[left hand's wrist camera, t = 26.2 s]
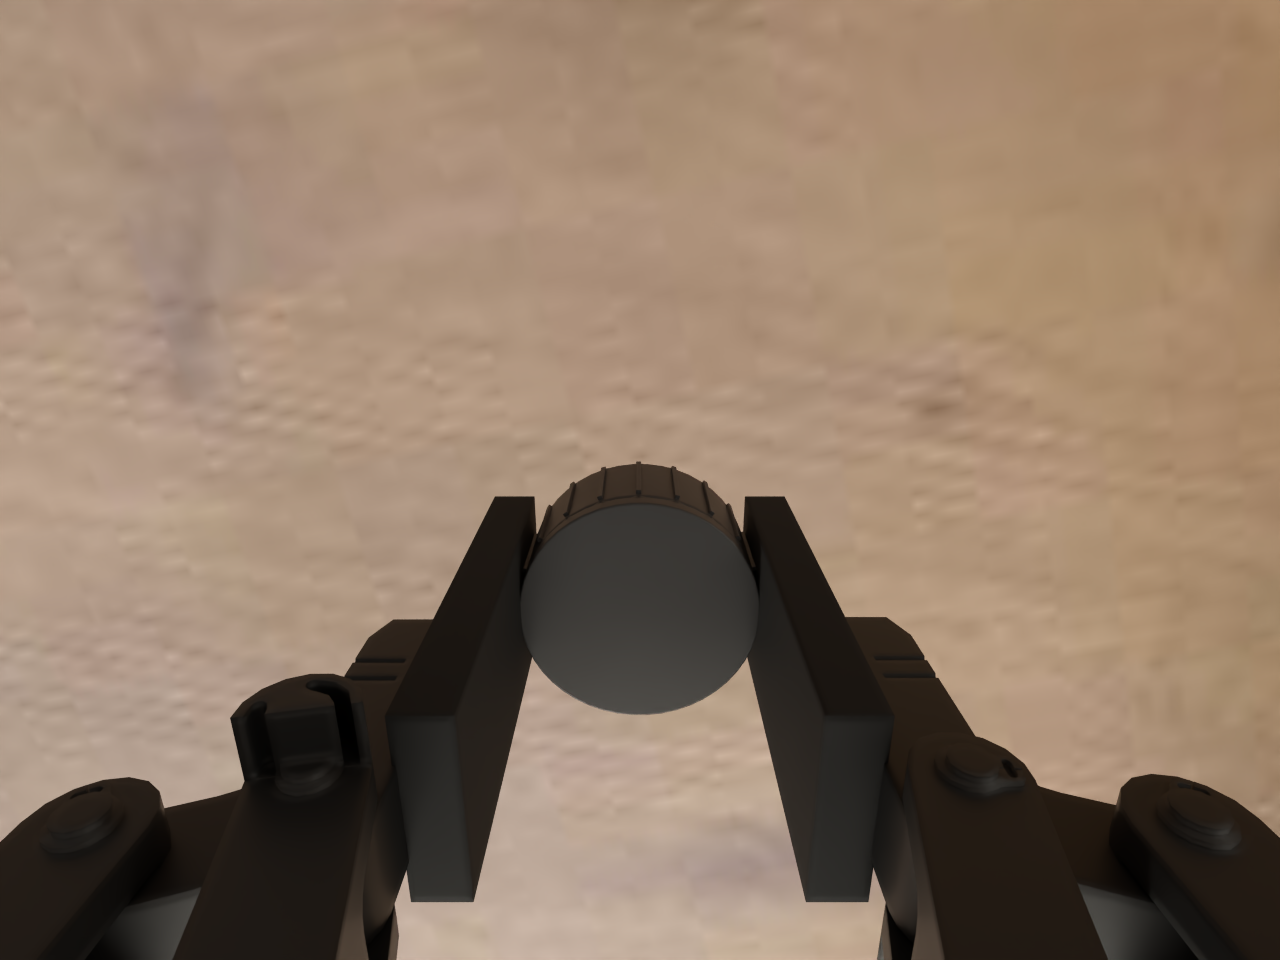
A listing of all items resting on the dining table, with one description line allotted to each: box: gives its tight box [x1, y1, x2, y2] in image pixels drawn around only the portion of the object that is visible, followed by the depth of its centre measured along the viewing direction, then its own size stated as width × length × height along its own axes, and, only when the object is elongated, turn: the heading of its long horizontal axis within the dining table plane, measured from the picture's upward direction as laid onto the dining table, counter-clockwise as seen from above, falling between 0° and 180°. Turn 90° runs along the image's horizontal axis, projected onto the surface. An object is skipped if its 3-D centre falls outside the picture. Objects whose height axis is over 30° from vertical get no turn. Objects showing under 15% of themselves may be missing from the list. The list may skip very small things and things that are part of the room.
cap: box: [520, 462, 759, 715], centre depth 13 cm, size 4×4×2 cm
